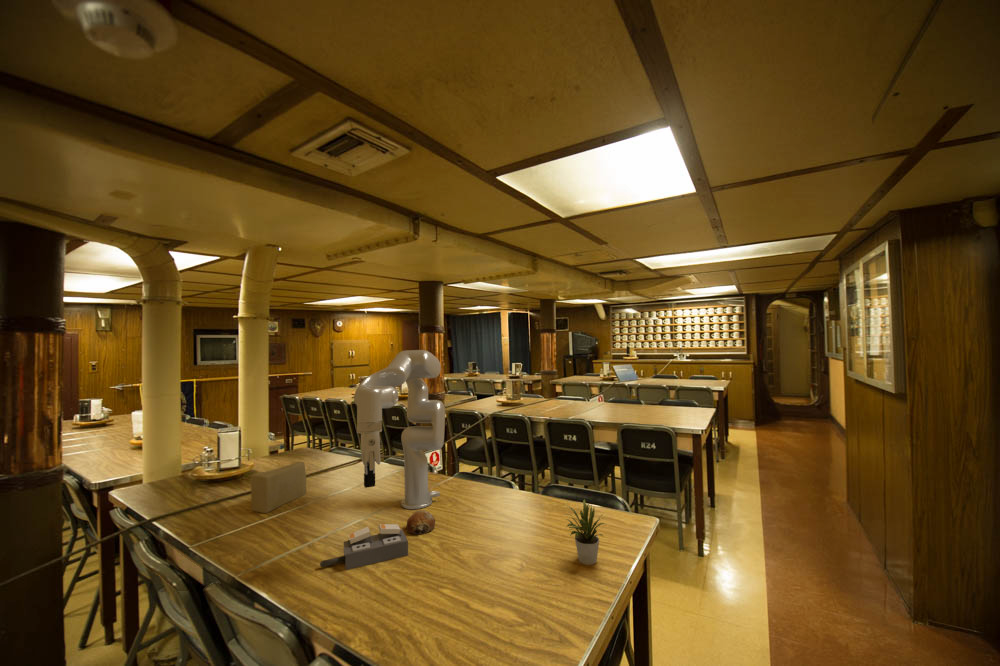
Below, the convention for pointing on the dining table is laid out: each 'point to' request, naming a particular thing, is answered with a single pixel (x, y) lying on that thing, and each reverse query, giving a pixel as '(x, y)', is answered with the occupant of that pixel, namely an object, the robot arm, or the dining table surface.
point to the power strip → (371, 550)
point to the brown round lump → (420, 522)
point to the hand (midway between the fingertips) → (369, 486)
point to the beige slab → (277, 487)
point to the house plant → (586, 535)
